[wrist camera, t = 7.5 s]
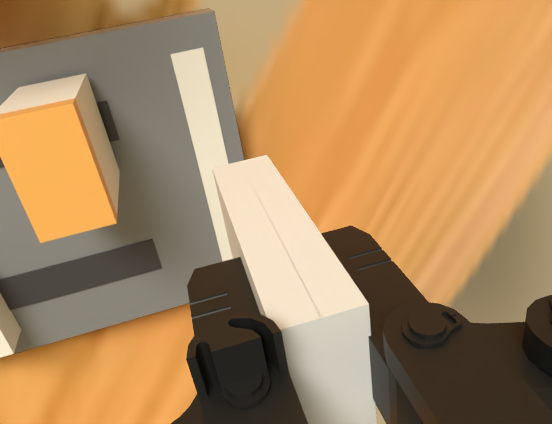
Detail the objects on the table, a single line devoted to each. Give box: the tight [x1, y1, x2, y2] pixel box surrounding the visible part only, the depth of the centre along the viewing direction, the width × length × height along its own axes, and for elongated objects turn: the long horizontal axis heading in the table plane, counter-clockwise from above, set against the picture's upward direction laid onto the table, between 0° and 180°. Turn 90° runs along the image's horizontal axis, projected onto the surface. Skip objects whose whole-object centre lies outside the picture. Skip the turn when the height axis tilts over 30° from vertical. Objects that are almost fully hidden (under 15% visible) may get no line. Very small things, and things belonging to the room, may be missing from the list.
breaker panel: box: [0, 8, 244, 358], centre depth 25 cm, size 24×16×4 cm, turn 99°
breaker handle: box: [0, 73, 120, 243], centre depth 21 cm, size 3×5×6 cm, turn 9°
